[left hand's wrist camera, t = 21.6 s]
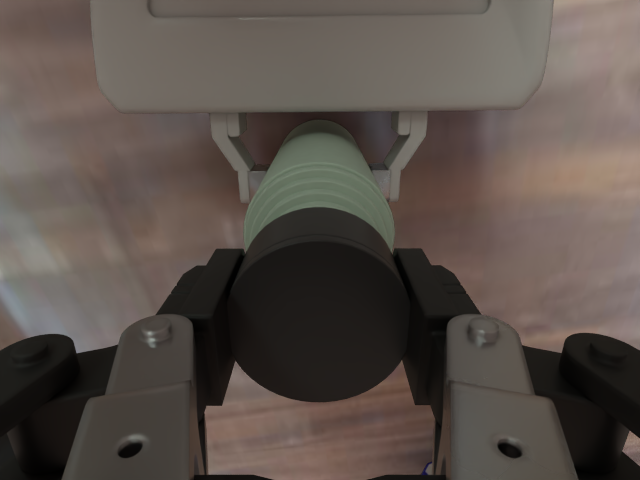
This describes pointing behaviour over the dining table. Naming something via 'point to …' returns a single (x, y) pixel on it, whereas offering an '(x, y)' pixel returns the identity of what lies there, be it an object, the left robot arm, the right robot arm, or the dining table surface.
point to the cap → (318, 307)
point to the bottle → (319, 181)
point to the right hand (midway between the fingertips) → (320, 200)
